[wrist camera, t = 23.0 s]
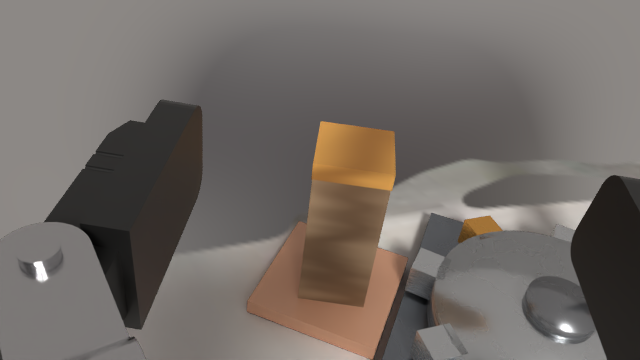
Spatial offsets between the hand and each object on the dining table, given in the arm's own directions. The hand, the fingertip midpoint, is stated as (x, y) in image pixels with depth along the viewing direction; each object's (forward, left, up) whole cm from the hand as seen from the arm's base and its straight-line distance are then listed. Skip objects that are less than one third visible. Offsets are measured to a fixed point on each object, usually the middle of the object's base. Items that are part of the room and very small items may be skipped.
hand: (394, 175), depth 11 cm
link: (-4, +15, -19) cm, 25 cm away
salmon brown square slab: (-4, +15, -20) cm, 25 cm away
